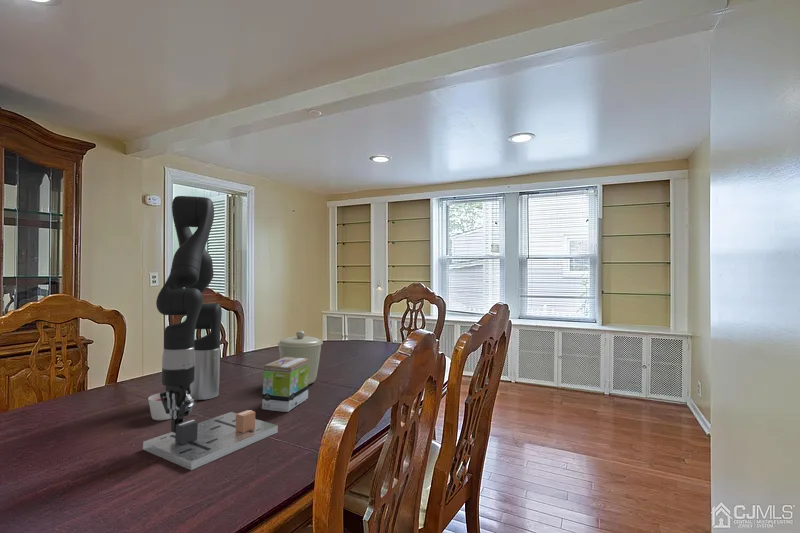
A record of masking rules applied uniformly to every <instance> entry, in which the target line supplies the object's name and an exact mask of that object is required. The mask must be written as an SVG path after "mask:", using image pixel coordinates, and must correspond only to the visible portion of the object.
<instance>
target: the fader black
mask: <svg viewBox="0 0 800 533" xmlns="http://www.w3.org/2000/svg"><path fill="white" fill-rule="evenodd" d="M198 423H199V422H198V421H196V420H195V419H187V420H183V422H181V423H178V424H176V431H175V442H176V443H179V444H181V445H183V444H186V443H189V442H191V441H194V440H197V429H198Z"/></svg>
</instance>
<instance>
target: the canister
mask: <svg viewBox="0 0 800 533" xmlns="http://www.w3.org/2000/svg"><path fill="white" fill-rule="evenodd" d="M276 343H277V346H278V350H279V351H278V352H279V359H281V358H284V357H293V358H306V359H309V384H308V385H311V384H314V382H315V381H316V379H317V377H318V370H319V364H320V357H321V350H322V349H321V348H322V345H323V344H324V341H322V340H321V339H320V338H317V337H313V336H306V333H305V332H304V330H298V331H297V332H296V333H295V336H288V337H285V338H282V339H280V340H279V341H277V342H276Z"/></svg>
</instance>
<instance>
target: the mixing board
mask: <svg viewBox="0 0 800 533" xmlns="http://www.w3.org/2000/svg"><path fill="white" fill-rule="evenodd" d="M236 414H238V413H236V412H234V411H229V412H227V413H223V414H221V415H217V416H215V417H212V418H209V419H206V420H203V421H200V422H198V429H197V440H194V441H191V442H189V443H186V444H183V445H181V444H179V443H176V442H175V433H173V432H171V431H170V432H168V433H165V434H161V435H159V436H155V437H153V438H150V439H147V440H143V441H142V451H143V450H144V451H146V452H147V453H150V454H152V455H155V456H156V457H160V458H161V457H162V459H164V460H167V461H169V462H171V463H174V464H176V465H178V466H180V467H182V468H185V469H187V470H190V471H193V470H196V469H198V468H200V467H202V466H205V465H207V464H209V463H211V462H214V461H216V460H218V459H220V458H223V457H225V456H228V455H229V454H232V453H234V452H236V451H238V450H241V449H244V448H246V447H248V446H250V445H253V444H254V443H257V442H259V441H262V440H264V439H266V438H268V437H270V436H272V435H276V434H277V433H278V429H279V426H278V425H277V424H273V423H270V422H268V421H264V420H260V419H256V418H255V428H254V429H252V430H249V431H247V432H244V433H241V432H238V431H236Z"/></svg>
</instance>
